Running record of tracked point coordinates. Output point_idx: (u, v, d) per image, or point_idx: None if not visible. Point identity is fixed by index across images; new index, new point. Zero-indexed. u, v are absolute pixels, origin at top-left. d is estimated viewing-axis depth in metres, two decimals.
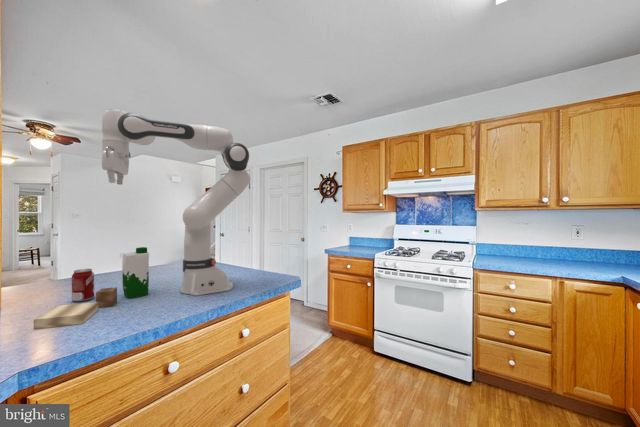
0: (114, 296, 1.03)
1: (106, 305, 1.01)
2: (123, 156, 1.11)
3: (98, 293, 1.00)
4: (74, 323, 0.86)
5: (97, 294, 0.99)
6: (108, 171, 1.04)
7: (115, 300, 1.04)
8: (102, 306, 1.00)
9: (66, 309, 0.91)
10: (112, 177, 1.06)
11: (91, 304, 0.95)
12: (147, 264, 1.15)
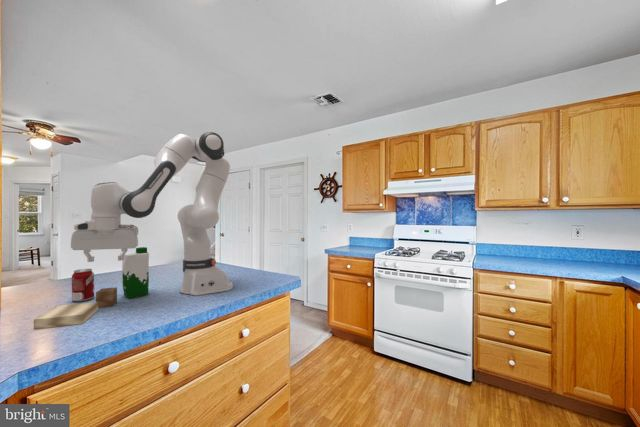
0: (114, 296, 1.03)
1: (106, 305, 1.01)
2: None
3: (98, 293, 1.00)
4: (74, 323, 0.86)
5: (97, 294, 1.00)
6: (125, 249, 1.04)
7: (115, 300, 1.04)
8: (102, 306, 1.00)
9: (66, 309, 0.91)
10: (124, 254, 1.04)
11: (91, 304, 0.95)
12: (147, 264, 1.15)
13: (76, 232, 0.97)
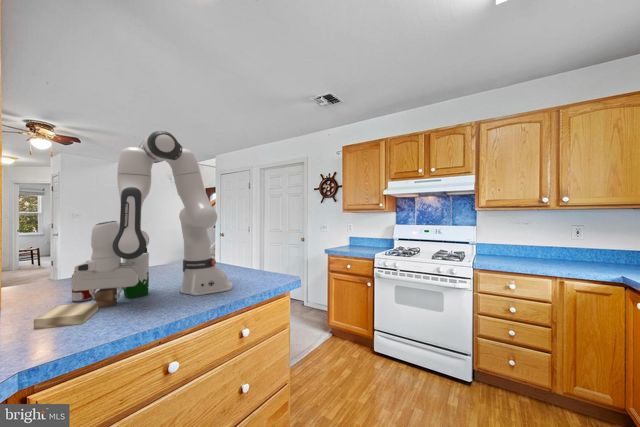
0: None
1: (106, 305, 1.01)
2: None
3: (98, 293, 1.00)
4: (74, 323, 0.86)
5: (97, 294, 1.00)
6: (121, 287, 1.04)
7: (115, 300, 1.04)
8: (102, 306, 1.00)
9: (66, 309, 0.91)
10: (120, 292, 1.04)
11: (91, 304, 0.95)
12: (147, 264, 1.15)
13: (76, 273, 0.97)
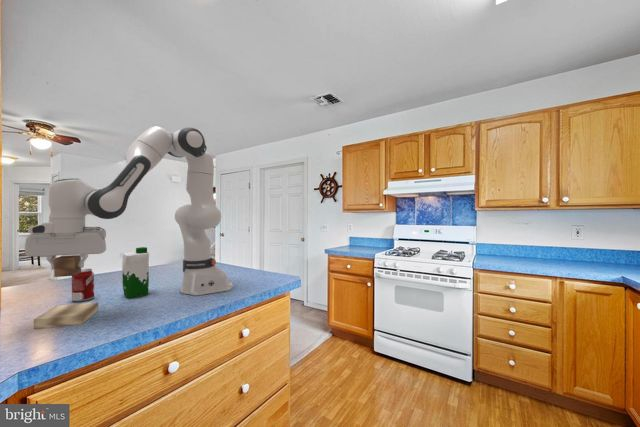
0: None
1: (66, 274, 0.87)
2: None
3: (57, 259, 0.87)
4: (74, 323, 0.86)
5: (56, 260, 0.86)
6: (85, 255, 0.91)
7: (78, 269, 0.91)
8: (62, 274, 0.87)
9: (66, 309, 0.91)
10: (84, 261, 0.91)
11: (91, 304, 0.95)
12: (147, 264, 1.15)
13: (31, 235, 0.84)
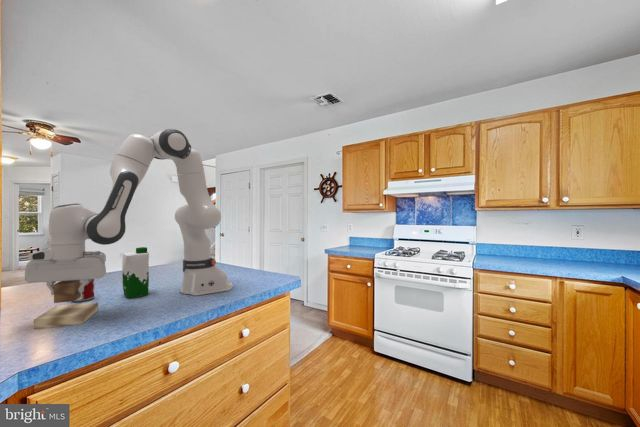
0: None
1: (66, 299, 0.88)
2: None
3: (57, 285, 0.87)
4: (74, 323, 0.86)
5: (55, 286, 0.86)
6: (85, 280, 0.91)
7: (78, 294, 0.91)
8: (61, 300, 0.87)
9: (66, 309, 0.91)
10: (83, 286, 0.91)
11: (91, 304, 0.95)
12: (147, 264, 1.15)
13: (31, 262, 0.84)
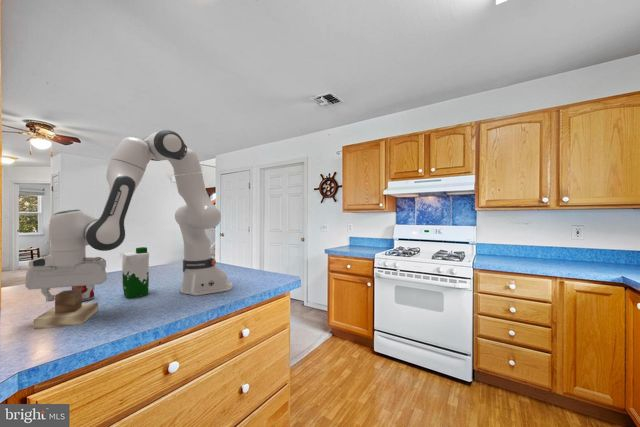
0: (77, 299, 0.91)
1: (67, 310, 0.88)
2: None
3: (57, 296, 0.87)
4: (74, 323, 0.86)
5: (56, 297, 0.87)
6: (91, 285, 0.91)
7: (79, 304, 0.92)
8: (62, 311, 0.87)
9: None
10: None
11: (91, 304, 0.95)
12: (147, 264, 1.15)
13: (31, 269, 0.84)
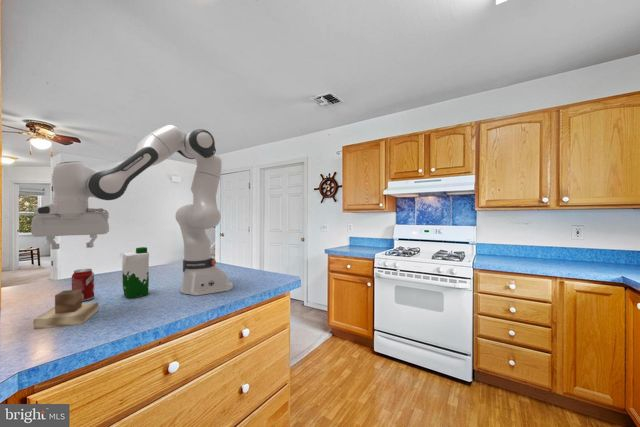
0: (77, 299, 0.91)
1: (67, 310, 0.88)
2: None
3: (57, 296, 0.87)
4: (74, 323, 0.86)
5: (56, 297, 0.87)
6: (95, 235, 0.95)
7: (79, 304, 0.92)
8: (62, 311, 0.87)
9: None
10: (93, 241, 0.96)
11: (91, 304, 0.95)
12: (147, 264, 1.15)
13: (36, 216, 0.87)
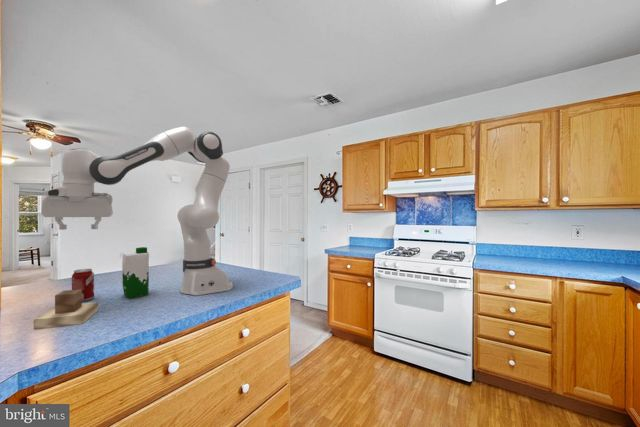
0: (77, 299, 0.91)
1: (67, 310, 0.88)
2: None
3: (57, 296, 0.87)
4: (74, 323, 0.86)
5: (56, 297, 0.87)
6: (99, 218, 1.02)
7: (79, 304, 0.92)
8: (62, 311, 0.87)
9: None
10: (97, 223, 1.03)
11: (91, 304, 0.95)
12: (147, 264, 1.15)
13: (47, 198, 0.95)
